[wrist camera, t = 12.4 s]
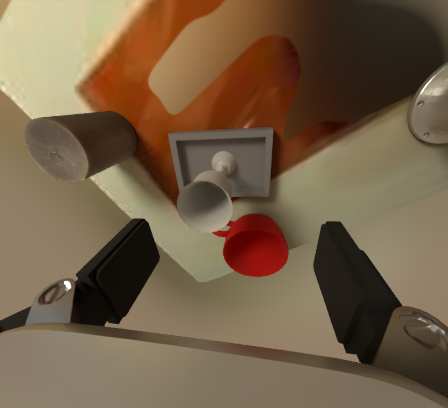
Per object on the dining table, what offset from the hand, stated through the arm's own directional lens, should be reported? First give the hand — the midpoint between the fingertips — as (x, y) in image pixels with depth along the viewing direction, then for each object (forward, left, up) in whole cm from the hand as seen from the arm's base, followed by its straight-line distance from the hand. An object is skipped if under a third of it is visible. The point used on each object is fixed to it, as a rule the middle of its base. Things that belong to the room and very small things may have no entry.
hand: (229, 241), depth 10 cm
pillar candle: (+27, -2, -30) cm, 40 cm away
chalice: (+4, +4, -29) cm, 30 cm away
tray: (+4, +4, -30) cm, 31 cm away
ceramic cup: (-1, +19, -30) cm, 36 cm away
